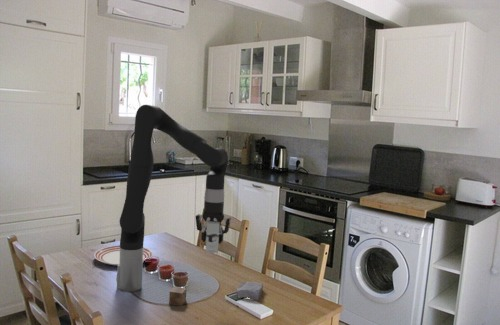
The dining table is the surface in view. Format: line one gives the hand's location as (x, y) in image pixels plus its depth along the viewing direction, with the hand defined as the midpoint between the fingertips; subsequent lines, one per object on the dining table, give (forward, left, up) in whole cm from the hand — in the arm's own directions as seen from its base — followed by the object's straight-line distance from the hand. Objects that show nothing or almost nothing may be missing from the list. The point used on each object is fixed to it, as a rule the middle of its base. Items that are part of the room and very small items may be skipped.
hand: (212, 242), depth 172 cm
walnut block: (-11, -6, -24) cm, 27 cm away
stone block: (+14, +11, -24) cm, 30 cm away
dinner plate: (-52, +31, -24) cm, 65 cm away
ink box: (0, 0, -3) cm, 3 cm away
